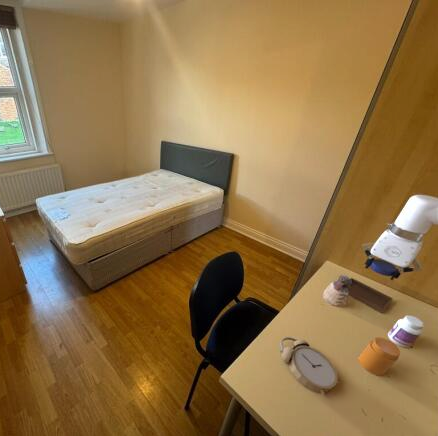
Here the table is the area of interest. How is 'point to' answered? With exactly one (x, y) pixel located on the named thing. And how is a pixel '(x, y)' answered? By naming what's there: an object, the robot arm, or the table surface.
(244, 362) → the table surface
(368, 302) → the tray
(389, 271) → the lid
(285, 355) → the alarm clock
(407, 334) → the pill bottle
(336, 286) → the figurine
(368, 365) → the jar
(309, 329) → the table surface
